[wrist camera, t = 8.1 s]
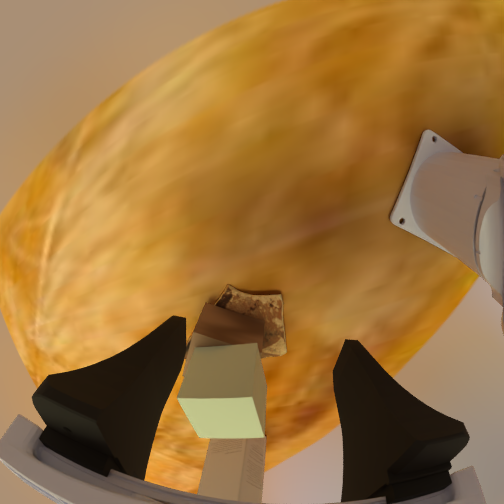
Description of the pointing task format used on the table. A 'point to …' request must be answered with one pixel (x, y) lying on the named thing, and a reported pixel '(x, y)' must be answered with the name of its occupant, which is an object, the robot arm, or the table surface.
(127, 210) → the table surface
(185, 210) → the table surface
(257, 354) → the sage block
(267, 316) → the shard
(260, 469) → the skincare box
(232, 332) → the walnut block
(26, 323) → the table surface
